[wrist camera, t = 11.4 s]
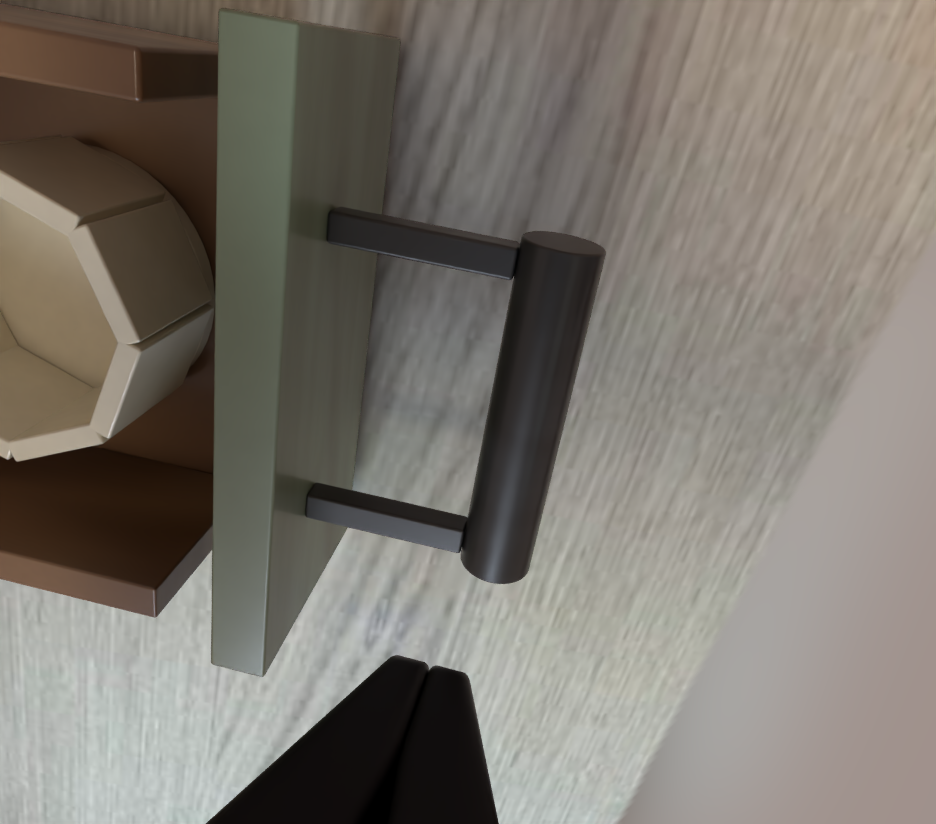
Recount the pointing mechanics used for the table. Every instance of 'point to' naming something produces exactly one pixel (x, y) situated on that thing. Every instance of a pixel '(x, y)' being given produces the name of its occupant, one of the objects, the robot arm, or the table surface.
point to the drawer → (271, 327)
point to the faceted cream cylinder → (91, 295)
